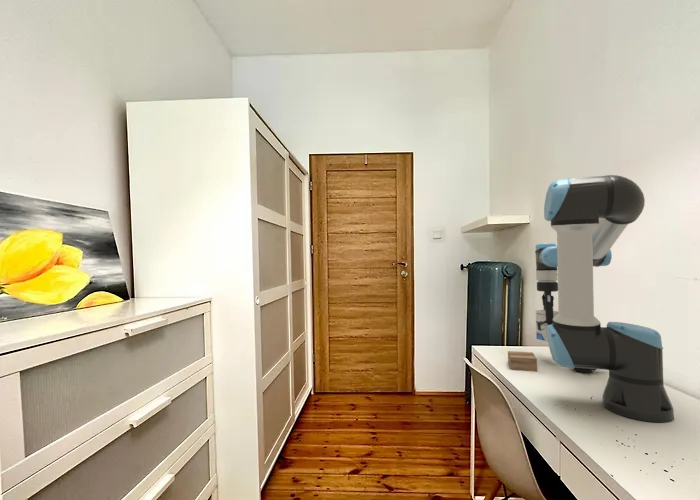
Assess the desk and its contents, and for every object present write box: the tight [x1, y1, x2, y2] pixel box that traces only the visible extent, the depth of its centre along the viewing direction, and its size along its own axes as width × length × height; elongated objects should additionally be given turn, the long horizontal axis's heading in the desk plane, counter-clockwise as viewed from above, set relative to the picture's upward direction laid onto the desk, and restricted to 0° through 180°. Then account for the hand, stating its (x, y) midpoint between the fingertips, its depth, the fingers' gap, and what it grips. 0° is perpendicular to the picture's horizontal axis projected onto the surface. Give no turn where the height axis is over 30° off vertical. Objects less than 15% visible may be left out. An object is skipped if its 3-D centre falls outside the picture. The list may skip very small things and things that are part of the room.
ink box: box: [535, 309, 559, 342], centre depth 141 cm, size 8×5×12 cm, turn 17°
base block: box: [507, 350, 538, 373], centre depth 136 cm, size 9×9×5 cm
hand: (549, 337), depth 141 cm, fingers closed on ink box, 9 cm apart
